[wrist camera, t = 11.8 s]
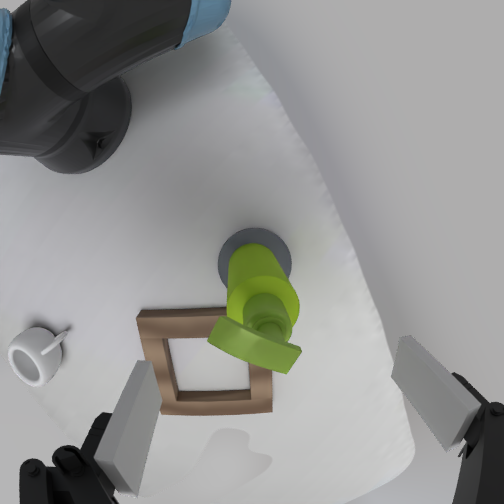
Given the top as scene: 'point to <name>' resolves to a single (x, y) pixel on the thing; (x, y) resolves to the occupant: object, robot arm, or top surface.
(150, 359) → the pocket frame
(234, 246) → the coaster
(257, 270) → the soap dispenser
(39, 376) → the mug
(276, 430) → the top surface
